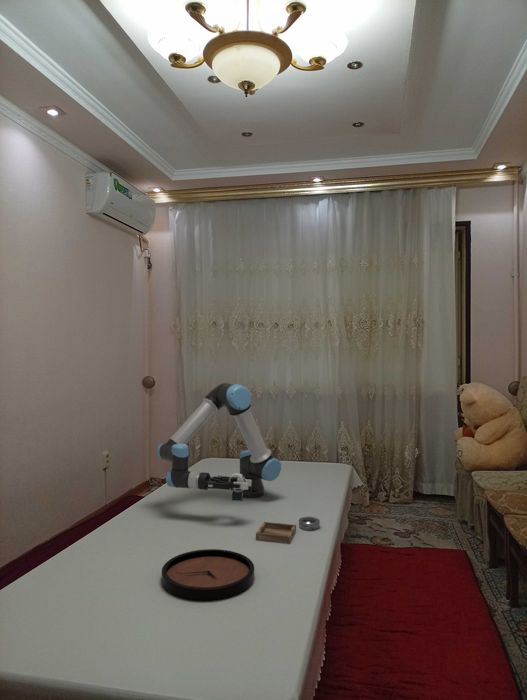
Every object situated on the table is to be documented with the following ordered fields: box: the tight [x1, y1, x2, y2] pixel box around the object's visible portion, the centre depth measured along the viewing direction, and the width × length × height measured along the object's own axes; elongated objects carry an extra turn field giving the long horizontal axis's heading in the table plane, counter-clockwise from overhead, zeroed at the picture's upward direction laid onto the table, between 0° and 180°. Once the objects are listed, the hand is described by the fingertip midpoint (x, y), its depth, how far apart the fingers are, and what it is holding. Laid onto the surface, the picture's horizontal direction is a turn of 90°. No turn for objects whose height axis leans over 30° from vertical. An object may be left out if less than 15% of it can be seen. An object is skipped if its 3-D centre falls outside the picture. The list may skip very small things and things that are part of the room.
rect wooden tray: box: [255, 521, 297, 545], centre depth 215 cm, size 14×14×3 cm
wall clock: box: [161, 548, 255, 602], centre depth 176 cm, size 31×4×31 cm
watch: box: [229, 472, 247, 502], centre depth 228 cm, size 6×8×11 cm
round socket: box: [298, 516, 320, 532], centre depth 225 cm, size 9×9×3 cm
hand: (249, 484), depth 227 cm, fingers closed on watch, 5 cm apart
